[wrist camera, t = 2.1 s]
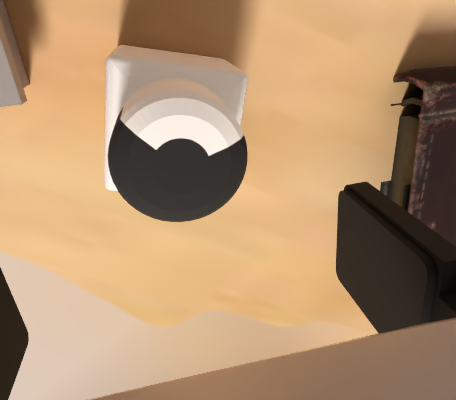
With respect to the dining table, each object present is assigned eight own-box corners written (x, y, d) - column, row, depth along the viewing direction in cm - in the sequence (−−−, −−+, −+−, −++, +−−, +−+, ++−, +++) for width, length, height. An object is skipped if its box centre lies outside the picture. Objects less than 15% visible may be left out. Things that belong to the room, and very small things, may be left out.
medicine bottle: (213, 158, 29) (248, 242, 18) (114, 150, 27) (91, 237, 17) (226, 58, 26) (278, 90, 15) (116, 43, 25) (90, 67, 14)
